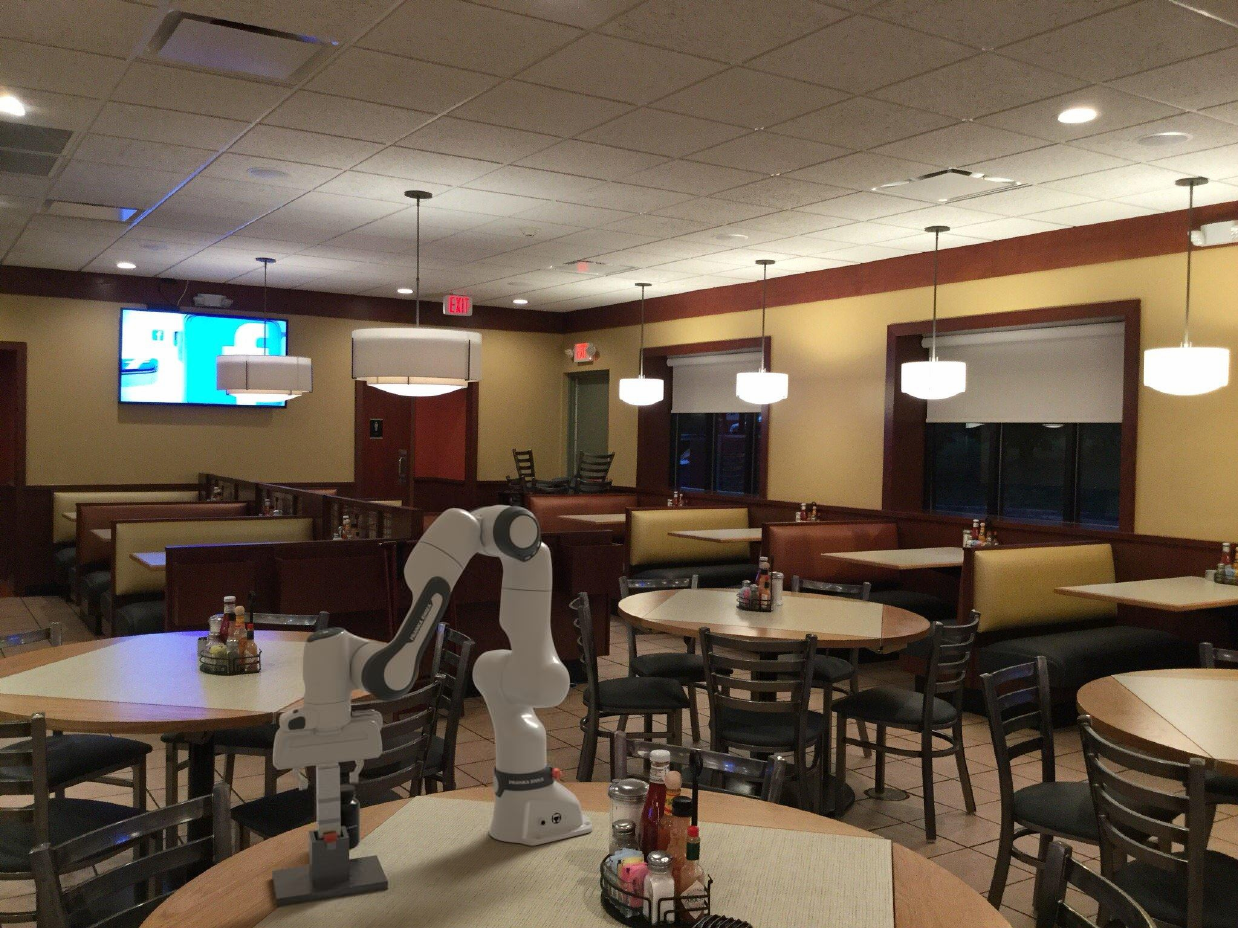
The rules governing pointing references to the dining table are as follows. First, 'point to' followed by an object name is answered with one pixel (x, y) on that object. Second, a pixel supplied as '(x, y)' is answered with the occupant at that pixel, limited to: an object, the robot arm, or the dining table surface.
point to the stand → (328, 873)
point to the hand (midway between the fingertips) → (328, 785)
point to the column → (328, 800)
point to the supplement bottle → (350, 814)
